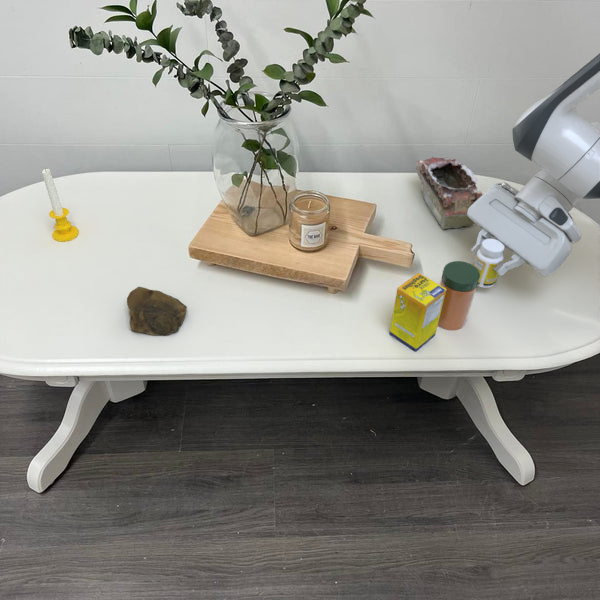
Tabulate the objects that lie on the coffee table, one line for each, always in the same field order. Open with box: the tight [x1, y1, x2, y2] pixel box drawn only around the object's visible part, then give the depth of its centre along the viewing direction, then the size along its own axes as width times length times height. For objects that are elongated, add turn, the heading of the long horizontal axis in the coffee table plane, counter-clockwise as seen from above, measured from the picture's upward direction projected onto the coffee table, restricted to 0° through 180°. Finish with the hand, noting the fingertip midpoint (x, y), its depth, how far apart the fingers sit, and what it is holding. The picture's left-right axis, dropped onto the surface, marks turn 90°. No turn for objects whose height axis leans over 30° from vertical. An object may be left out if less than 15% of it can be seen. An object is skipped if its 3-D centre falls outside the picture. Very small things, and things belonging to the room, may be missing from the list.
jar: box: [437, 277, 478, 331], centre depth 100 cm, size 6×6×10 cm
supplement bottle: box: [472, 238, 505, 289], centre depth 106 cm, size 5×5×8 cm
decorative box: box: [415, 156, 484, 230], centre depth 127 cm, size 13×20×10 cm, turn 5°
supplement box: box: [389, 272, 446, 352], centre depth 97 cm, size 6×6×11 cm
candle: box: [41, 168, 80, 243], centre depth 114 cm, size 5×5×16 cm
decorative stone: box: [126, 286, 188, 337], centre depth 101 cm, size 10×9×4 cm
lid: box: [441, 260, 480, 291], centre depth 97 cm, size 6×6×2 cm
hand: (485, 263), depth 106 cm, fingers closed on supplement bottle, 5 cm apart
